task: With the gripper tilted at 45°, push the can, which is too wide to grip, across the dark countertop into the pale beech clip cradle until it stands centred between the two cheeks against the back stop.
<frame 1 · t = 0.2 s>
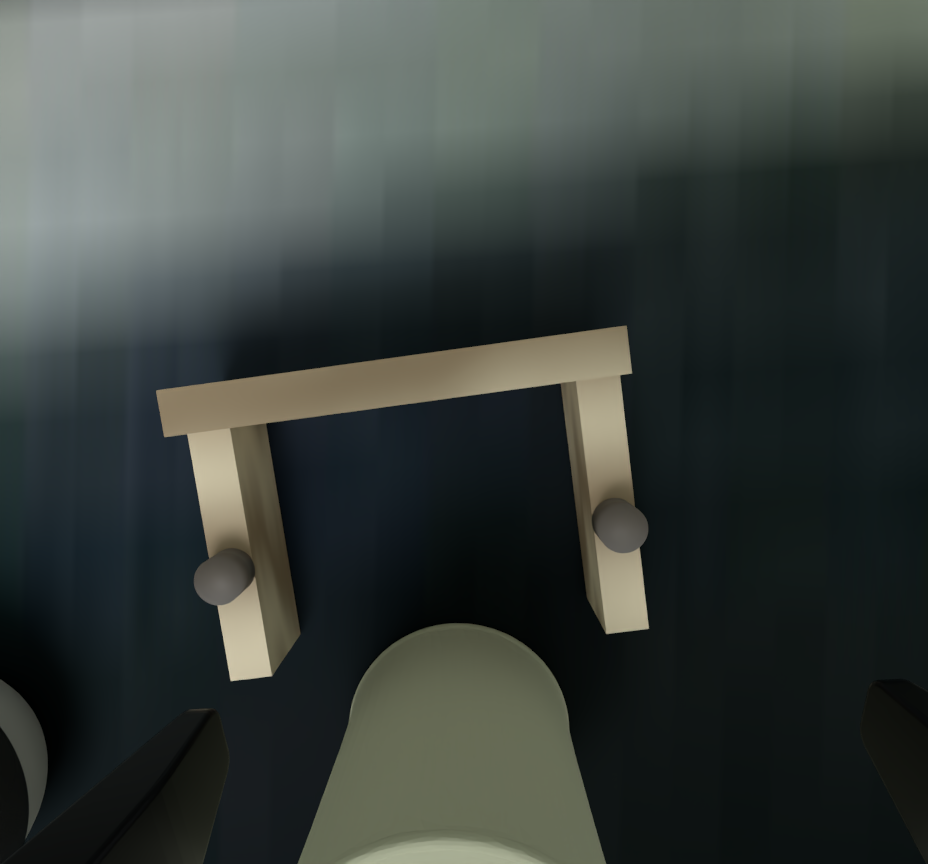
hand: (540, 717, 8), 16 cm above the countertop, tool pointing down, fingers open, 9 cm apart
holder: (429, 521, 24), on the countertop
can: (459, 724, 25), on the countertop
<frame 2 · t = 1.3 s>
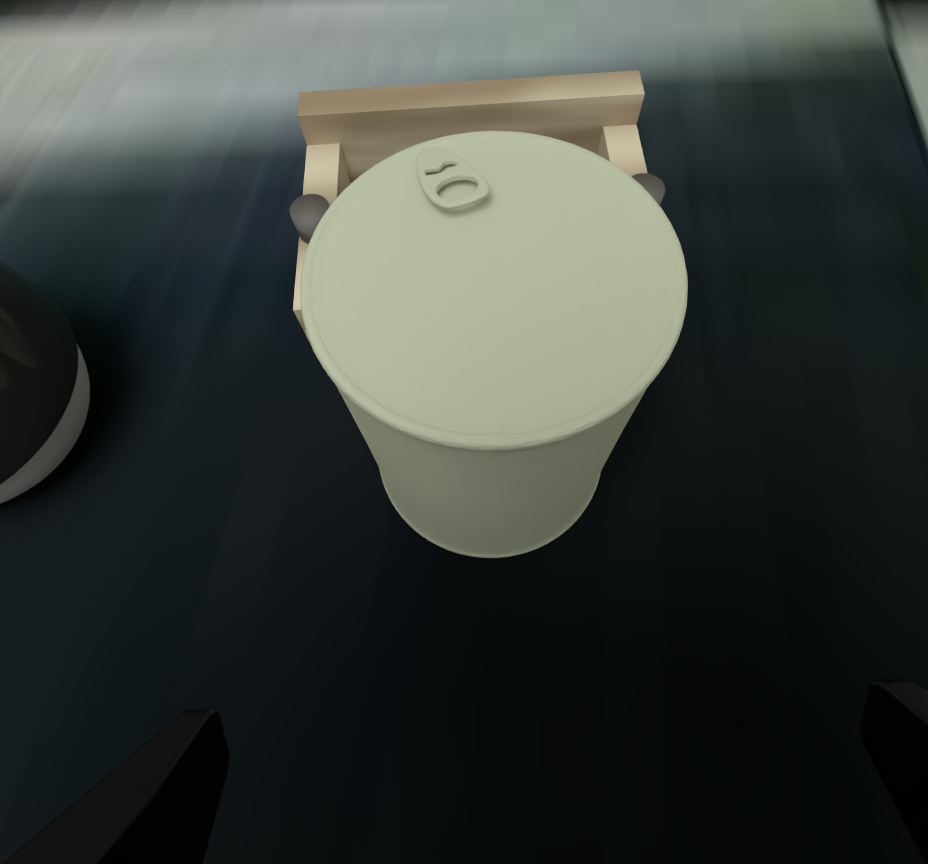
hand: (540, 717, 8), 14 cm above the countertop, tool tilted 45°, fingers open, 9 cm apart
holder: (477, 273, 28), on the countertop
can: (489, 449, 24), on the countertop
pump dispenser: (20, 429, 26), on the countertop
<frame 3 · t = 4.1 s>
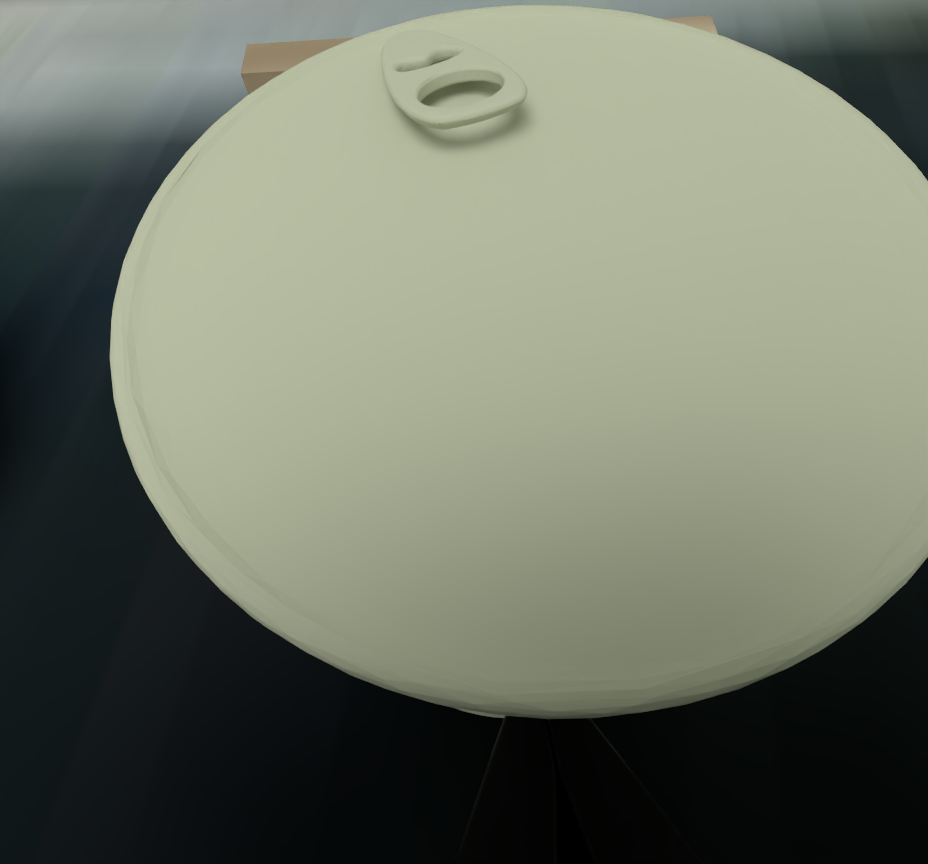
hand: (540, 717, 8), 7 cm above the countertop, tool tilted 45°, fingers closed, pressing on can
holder: (488, 290, 20), on the countertop
can: (505, 539, 17), on the countertop, touching gripper
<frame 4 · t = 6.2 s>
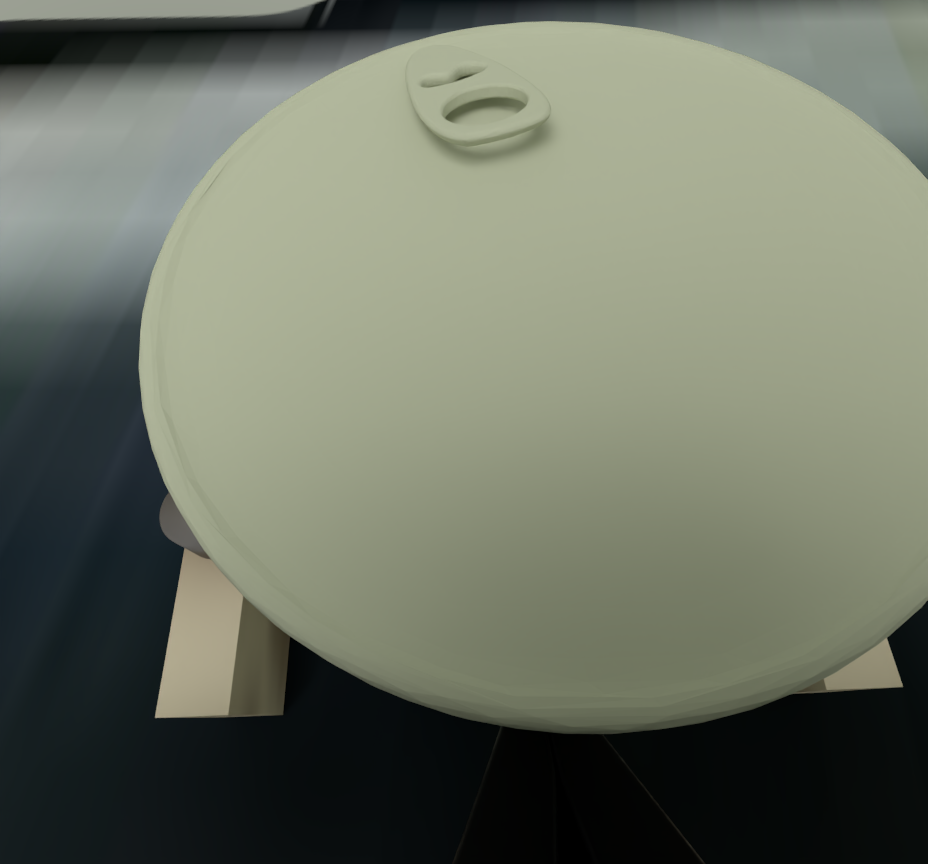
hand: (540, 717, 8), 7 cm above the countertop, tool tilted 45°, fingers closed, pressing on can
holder: (506, 550, 17), on the countertop
can: (513, 545, 17), on the countertop, touching gripper
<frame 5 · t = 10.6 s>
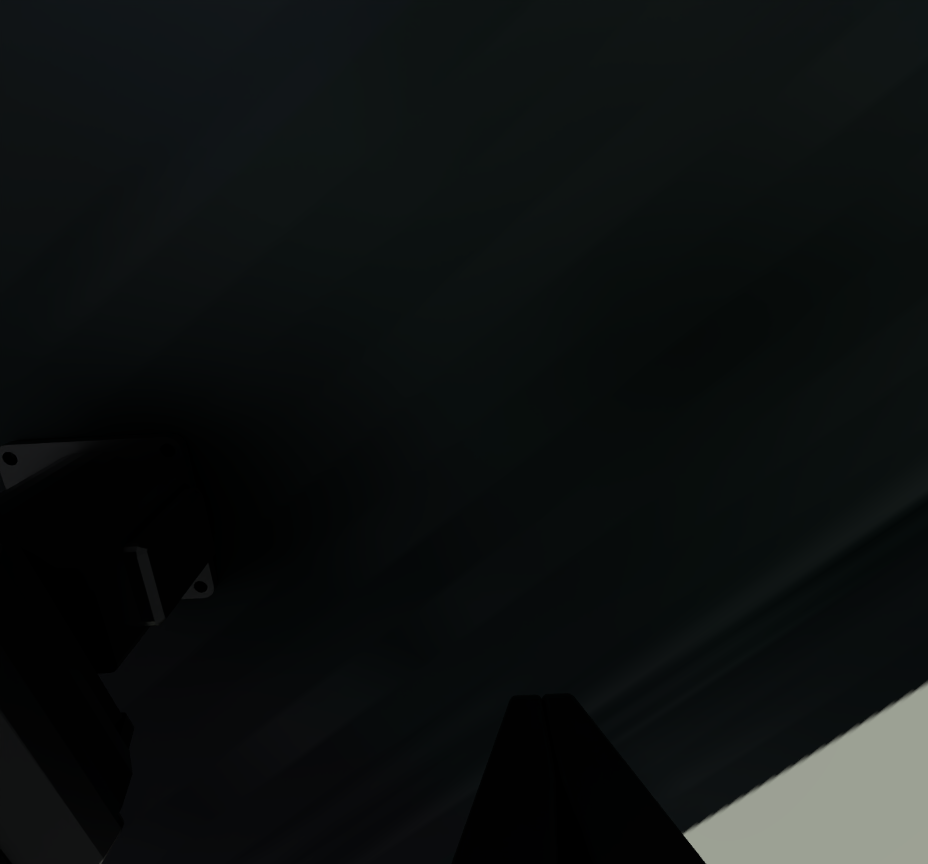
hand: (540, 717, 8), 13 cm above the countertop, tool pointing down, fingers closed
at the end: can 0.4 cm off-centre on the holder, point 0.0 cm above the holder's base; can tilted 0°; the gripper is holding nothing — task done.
